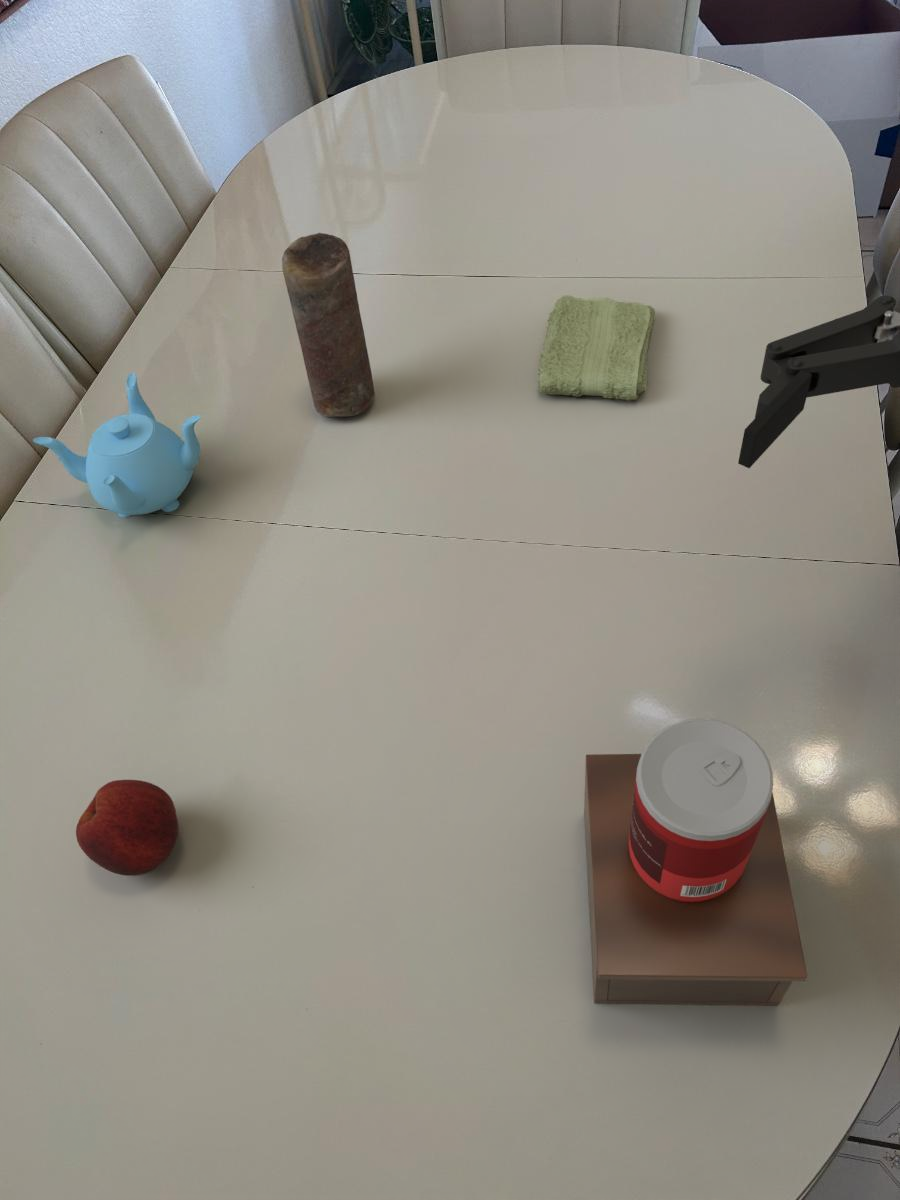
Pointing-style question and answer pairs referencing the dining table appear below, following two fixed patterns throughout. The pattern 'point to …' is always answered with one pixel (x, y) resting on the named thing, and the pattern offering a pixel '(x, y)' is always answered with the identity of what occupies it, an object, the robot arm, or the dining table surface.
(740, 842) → the canned food
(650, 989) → the chest
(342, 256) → the candle
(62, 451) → the teapot
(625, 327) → the washcloth
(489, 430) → the dining table surface
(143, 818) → the apple
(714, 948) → the lid
